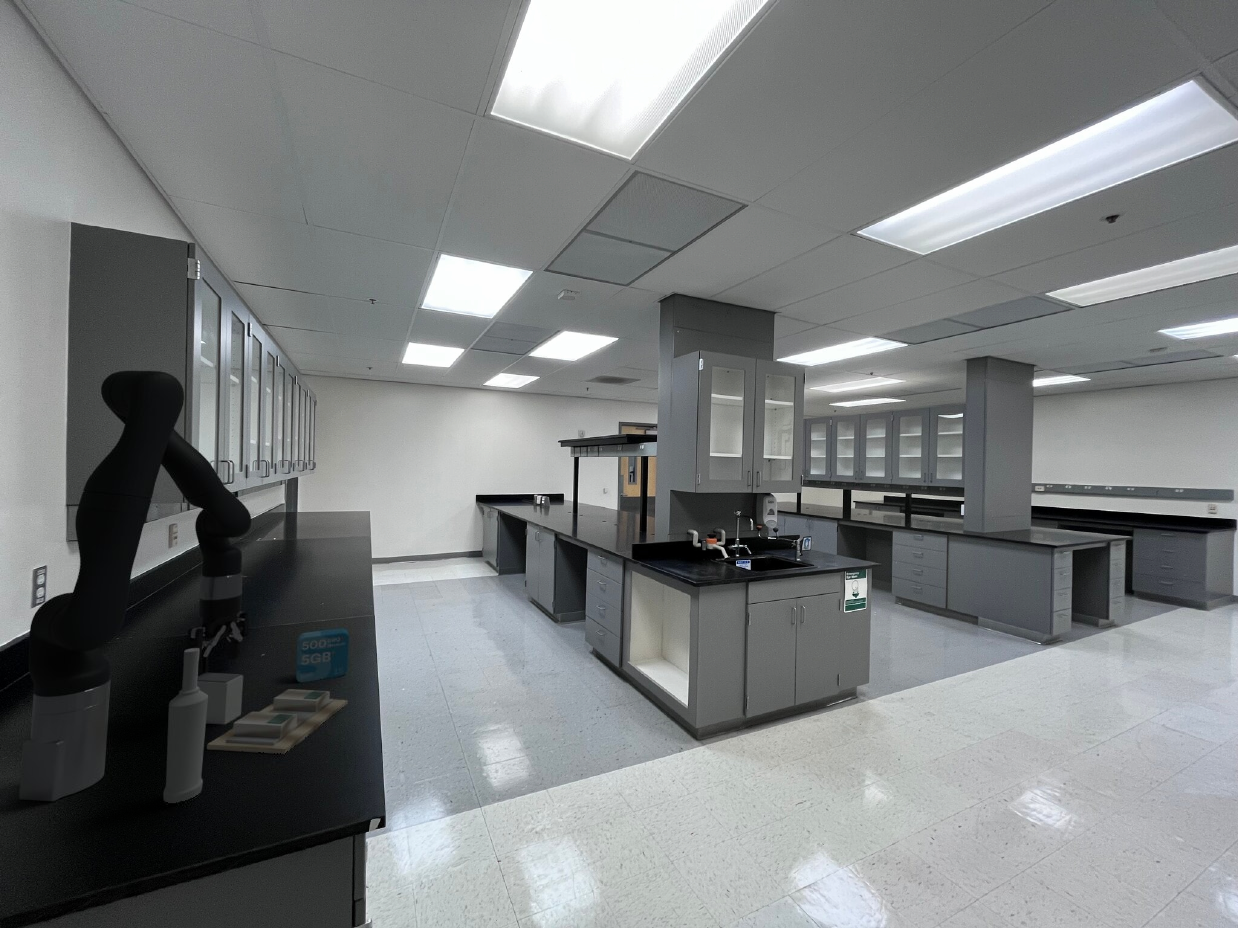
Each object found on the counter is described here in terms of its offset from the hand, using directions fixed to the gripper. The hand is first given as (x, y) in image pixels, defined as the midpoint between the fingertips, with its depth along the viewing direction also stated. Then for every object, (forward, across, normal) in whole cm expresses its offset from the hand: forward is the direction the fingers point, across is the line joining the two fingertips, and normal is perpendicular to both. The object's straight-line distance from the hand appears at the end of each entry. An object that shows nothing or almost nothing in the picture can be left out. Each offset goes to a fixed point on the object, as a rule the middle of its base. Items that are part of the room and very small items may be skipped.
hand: (218, 665), depth 114 cm
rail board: (+12, -1, -17) cm, 21 cm away
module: (+12, 0, 0) cm, 12 cm away
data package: (+12, +25, -9) cm, 29 cm away
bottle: (+12, -26, -17) cm, 33 cm away
